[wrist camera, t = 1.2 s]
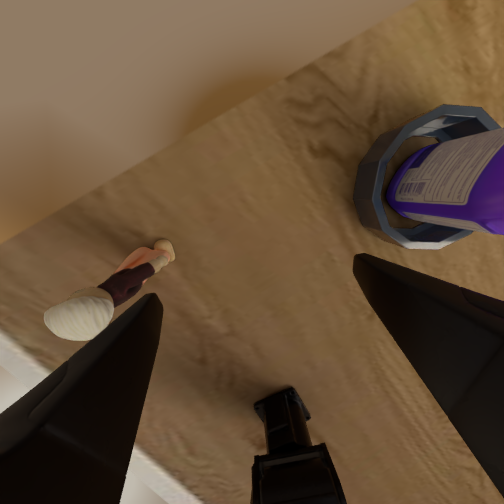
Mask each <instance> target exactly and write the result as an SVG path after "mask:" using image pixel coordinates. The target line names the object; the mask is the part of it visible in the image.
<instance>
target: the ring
mask: <svg viewBox="0 0 504 504" xmlns="http://www.w3.org/2000/svg"><path fill="white" fill-rule="evenodd" d="M500 128H501V127H500V126H499V125H498V124H497V123H496V122H495V121H494V120H493V119H492V118H491V117H490V116H489V115H488V114H487V113H486V112H485V110H484V109H483V108H482V107H473V106H460V105H446V104H443V105H441V106H438V107H436V108H434V109H431V110H429V111H427V112H425V113H422V114H420V115H418V116H415V117H413V118H411V119H409V120H407V121H405V122H403V123H402V124H400V125H398V126H396V127H394V128H392V129H390V130H389V131H387V132H385V133H383V134H381V135H380V136H379V137H378V139H377V140H376V141H375V143H374V144H373V146H372V147H371V148H370V150H369V151H368V153H367V154H366V155H365V157H364V158H363V160H362V161H361V162H360V164H359V166H358V172H357V178H356V183H355V189H354V195H353V200H354V203H355V206H356V209H357V211H358V214H359V217H360V220H361V222H362V225H363V226H364V227H365V228H367V229H368V230H369V231H371V232H372V233H374V234H375V235H376V236H378V237H379V238H381V239H382V240H383V241H386V242H389V243H392V244H395V245H397V246H400V247H403V248H406V249H433V250H438V249H441V248H443V247H445V246H447V245H449V244H451V243H453V242H455V241H457V240H460V239H462V238H464V237H466V236H468V235H470V234H472V232H473V230H467V229H461V228H456V227H450V226H444V225H439V224H433V223H427V222H424V223H422V224H420V225H418V226H415V227H413V228H392V227H391V226H389V223H388V220H387V217H386V214H385V211H384V208H383V204H382V201H381V198H380V196H381V191H382V186H383V181H384V176H385V172H386V167H387V163H388V162H389V161H390V159H391V158H392V156H393V155H394V154H395V152H396V151H397V150H398V148H399V147H400V146H401V144H402V143H403V142H404V140H406V139H408V138H410V137H412V136H416V137H431V138H436V139H437V140H438V141H439V142H440V143H442V142H446V141H450V140H454V139H458V138H463V137H467V136H471V135H475V134H479V133H483V132H487V131H492V130H496V129H500Z"/></svg>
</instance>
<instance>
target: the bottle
mask: <svg viewBox="0 0 504 504" xmlns="http://www.w3.org/2000/svg"><path fill="white" fill-rule="evenodd" d="M386 198H387V201H388V203H389V204H390V206H391V207H392V208H393V209H394V210H396V212H397V213H399V214H400V215H402V216H404V217H407V218H410V219H413V220H416V221H422V222H427V223H433V224H439V225H444V226H450V227H456V228H461V229H467V230H473V231H479V232H484V233H490V234H501V235H504V128H500V129H496V130H492V131H487V132H483V133H479V134H475V135H471V136H467V137H463V138H458V139H454V140H450V141H446V142H442V143H437V144H433V145H429V146H427V147H424V148H422V149H420V150H418V151H417V152H415V153H414V154H413V155H411V156H410V157H409V158H408V159H407V160H406V161H405V162H404V163H403V164H402V166H401V167H400V168H399V169H398V171H397V172H396V174H395V175H394V177H393V178H392V180H391V182H390V184H389V187H388V190H387V194H386Z"/></svg>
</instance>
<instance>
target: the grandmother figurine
mask: <svg viewBox="0 0 504 504" xmlns="http://www.w3.org/2000/svg"><path fill="white" fill-rule="evenodd" d="M174 260H175V253H174V250H173V247H172V244H171V243H170V242H169V241H168V240H165V239H162V240H159V241H157V242H156V243H155V245H154V250H151V249H149V248H147V247H140V248H138V249H136V250H135V251H134V252H132V253H131V254H130V255H129V256H128V257H127V258H126V259H125V260H124V261H123V263H122V264H121V265H120V266H119V267H118V269H117V270H116V271H115V272H114V274H113V275H112V276H111V277H110V278H109V279H107V280H106V281H105V282H104V283H102V284H101V285H99V286H98V287H89V288H84V289H81V290H78V291H76V292H75V293H73V294H72V295H71V296H70V297H69V298H68V299H67V300H66V301H65V302H62V303H60V304H58V305H55V306H53V307H51V308H49V309H48V310H47V311H46V312H45V314H44V322H45V324H46V326H47V327H48V328H49V329H50V330H51V331H52V332H53V333H54V334H55V335H57V336H58V337H61V338H64V339H68V340H74V341H85V340H90V339H91V340H92V339H93V338H94V337H95V336H96V335H98V334H99V333H100V332H101V331H102V330H104V329H105V328H106V327H107V326H108V323H109V322H110V320H111V319H112V316H113V312H114V308H115V307H117V306H119V305H120V304H122V303H124V302H125V301H127V300H128V299H130V298H131V297H132V296H134V295H135V294H136V293H137V292H138V291H139V290H140V289H141V287H142V285H143V284H144V283H145V282H146V280H147V279H148V278H149V277H151V276H152V275H154V274H156V273H158V272H159V271H160V269H161V267H165V266H166V265H167V264H168V263H170V262H172V261H174Z"/></svg>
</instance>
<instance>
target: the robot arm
mask: <svg viewBox="0 0 504 504" xmlns="http://www.w3.org/2000/svg"><path fill="white" fill-rule="evenodd" d="M353 274H354V276H355V278H356V280H357V282H358V284H359V286H360V287H361V289H362V291H363V293H364V295H365V297H366V299H367V300H368V302H369V304H370V305H371V307H372V308H373V310H374V311H375V313H376V314H377V315H378V317H379V318H380V320H381V321H382V323H383V324H384V326H385V327H386V328H387V330H388V331H389V333H390V334H391V336H392V337H393V339H394V340H395V341H396V343H397V344H398V346H399V347H400V349H401V350H402V352H403V353H404V354H405V356H406V357H407V359H408V360H409V362H410V363H411V365H412V366H413V367H414V369H415V370H416V372H417V373H418V375H419V376H420V378H421V379H422V380H423V382H424V383H425V385H426V386H427V388H428V389H429V391H430V392H431V393H432V395H433V396H434V398H435V399H436V401H437V402H438V404H439V405H440V406H441V408H442V409H443V411H444V412H445V414H446V415H447V416H448V418H449V420H450V421H451V423H452V424H453V426H454V427H455V428H456V430H457V431H458V433H459V434H460V436H461V437H462V439H463V440H464V441H465V443H466V444H467V446H468V447H469V449H470V450H471V452H472V453H473V454H474V456H475V457H476V459H477V460H478V462H479V463H480V465H481V466H482V467H483V469H484V470H485V472H486V473H487V475H488V476H489V478H490V479H491V480H492V482H493V483H494V485H495V486H496V488H497V489H498V491H499V492H500V493H501V495H502V496H503V498H504V301H502V300H498V299H495V298H492V297H489V296H486V295H483V294H480V293H477V292H474V291H471V290H469V289H466V288H463V287H459V286H457V285H454V284H452V283H449V282H446V281H443V280H440V279H437V278H434V277H432V276H429V275H426V274H423V273H420V272H417V271H415V270H412V269H409V268H406V267H403V266H400V265H397V264H395V263H392V262H389V261H386V260H383V259H380V258H378V257H375V256H372V255H369V254H366V253H361V254H356V255H355V256H354V261H353ZM162 318H163V305H162V303H161V301H160V300H159V298H158V296H157V294H156V293H149V294H145V295H144V296H143V297H141V298H140V299H139V300H138V301H137V302H136V303H134V304H133V305H132V306H131V307H130V308H128V309H127V310H126V311H125V312H124V313H123V314H121V315H120V316H119V317H118V318H117V319H115V320H114V321H113V322H112V323H111V324H110V325H108V326H107V327H106V328H105V329H104V330H102V331H101V332H100V333H99V334H98V335H96V336H95V337H94V338H93V339H92V340H91V341H89V342H88V343H87V344H86V345H85V346H83V347H82V348H81V349H80V350H79V351H78V352H76V353H75V354H74V355H73V356H72V357H70V358H69V360H68V361H66V362H64V363H63V364H62V365H61V366H60V367H59V368H57V369H56V370H55V371H54V372H53V373H51V374H50V375H49V376H48V377H46V378H45V379H44V380H43V381H42V382H40V383H39V384H38V385H37V386H35V387H34V388H33V389H32V390H30V391H29V392H28V393H27V394H25V395H24V396H23V397H21V398H20V399H19V400H18V401H16V402H15V403H14V404H13V405H11V406H10V407H9V408H7V409H6V410H5V411H3V412H2V413H1V414H0V504H119V503H120V499H121V495H122V491H123V487H124V483H125V479H126V474H127V470H128V466H129V462H130V458H131V454H132V450H133V446H134V442H135V438H136V434H137V430H138V426H139V422H140V418H141V414H142V410H143V406H144V402H145V398H146V393H147V389H148V385H149V381H150V377H151V373H152V369H153V365H154V361H155V357H156V353H157V349H158V345H159V340H160V333H161V325H162ZM254 410H255V411H256V413H257V414H258V416H259V417H260V418H261V420H262V421H263V423H264V427H265V437H266V448H267V454H266V455H261V456H259V455H256V456H254V464H253V466H252V492H251V502H250V504H347V503H346V499H345V496H344V492H343V489H342V486H341V483H340V480H339V478H338V475H337V472H336V470H335V467H334V465H333V462H332V460H331V457H330V455H329V452H328V450H327V447H326V444H325V443H320V444H319V445H314V446H312V442H311V439H310V435H309V432H308V428H307V425H306V421H307V420H310V419H311V416H310V413H309V412H308V410H307V408H306V407H305V405H304V403H303V402H302V400H301V398H300V397H299V395H298V393H297V392H296V390H295V389H294V388H289V389H287V390H284V391H282V392H280V393H278V394H275V395H273V396H271V397H268V398H266V399H264V400H262V401H259V402H257V403H255V404H254Z"/></svg>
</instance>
